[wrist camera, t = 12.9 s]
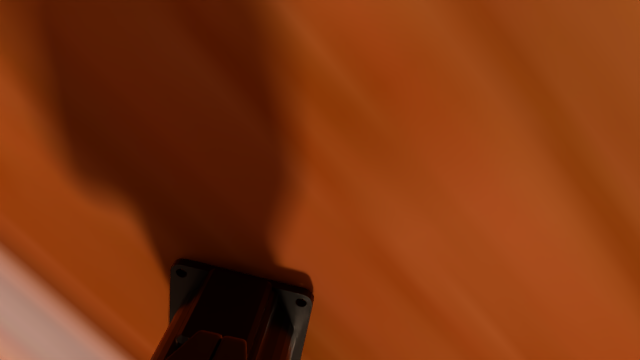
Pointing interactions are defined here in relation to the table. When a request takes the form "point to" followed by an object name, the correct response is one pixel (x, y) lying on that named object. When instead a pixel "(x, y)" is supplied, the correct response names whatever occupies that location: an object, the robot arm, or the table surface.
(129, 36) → the table surface
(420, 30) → the table surface
